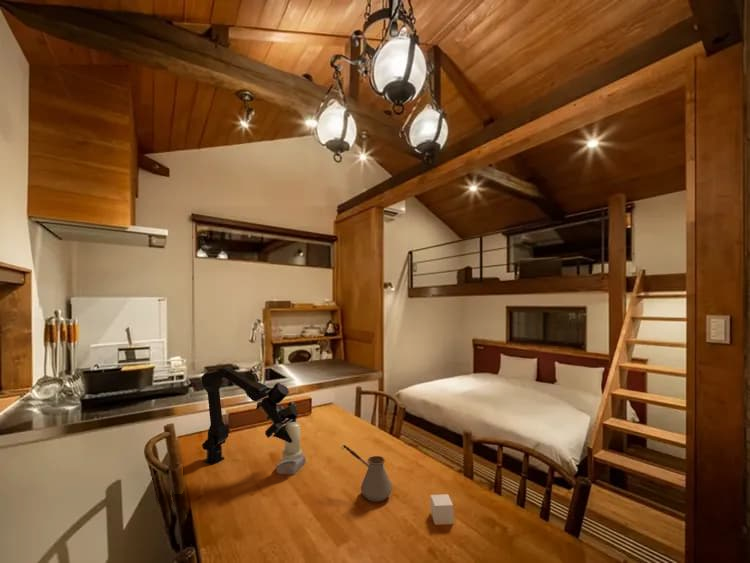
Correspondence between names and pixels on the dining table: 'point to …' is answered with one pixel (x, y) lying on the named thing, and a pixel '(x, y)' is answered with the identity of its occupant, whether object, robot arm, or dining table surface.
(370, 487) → the coffee pot
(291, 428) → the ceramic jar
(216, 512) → the dining table surface
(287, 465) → the stone block
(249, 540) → the dining table surface
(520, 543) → the dining table surface
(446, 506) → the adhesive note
